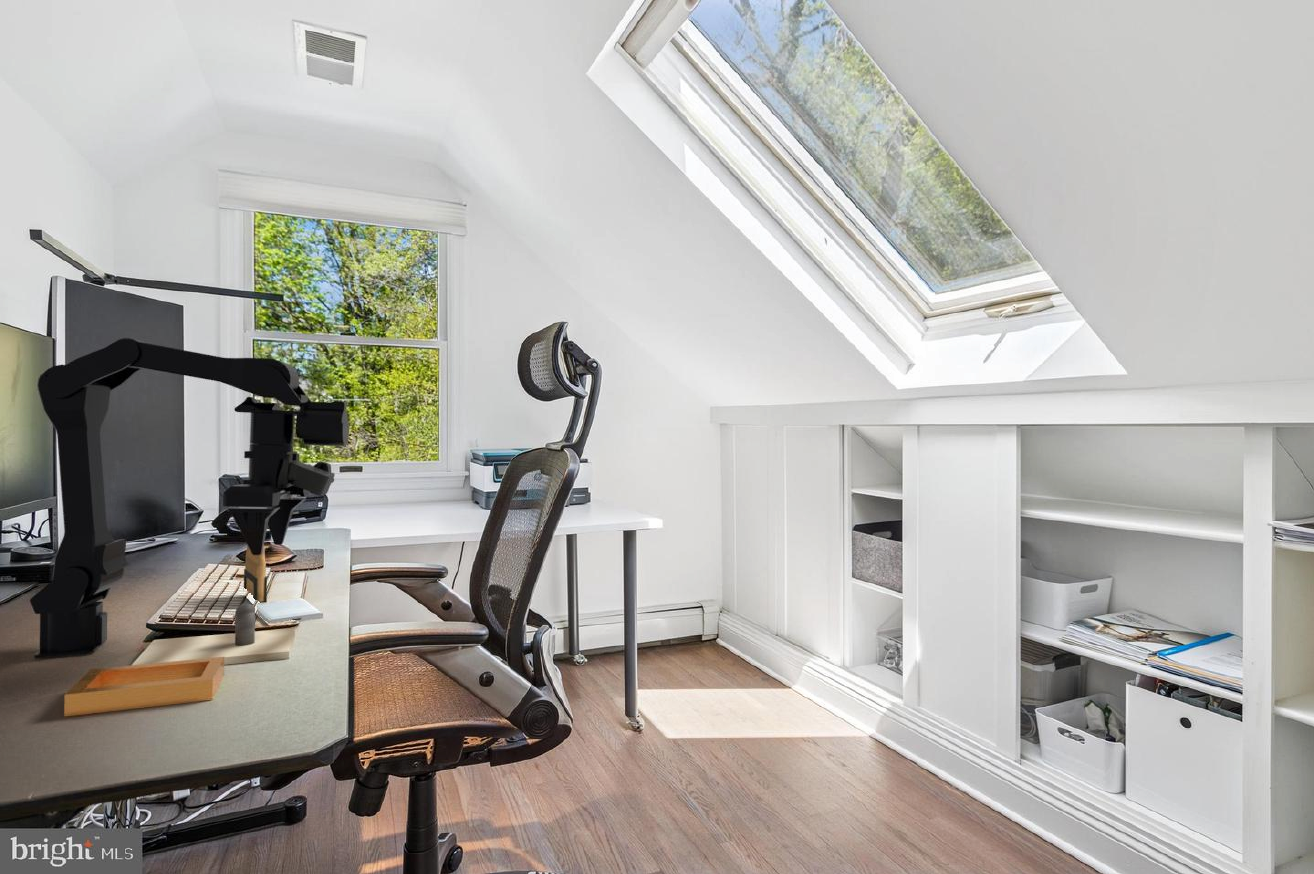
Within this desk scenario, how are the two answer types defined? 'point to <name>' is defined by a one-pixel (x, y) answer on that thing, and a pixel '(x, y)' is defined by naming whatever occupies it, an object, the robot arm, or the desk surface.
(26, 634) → the desk surface
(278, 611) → the hard drive
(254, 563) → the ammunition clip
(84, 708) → the shallow wooden tray
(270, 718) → the desk surface
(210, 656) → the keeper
